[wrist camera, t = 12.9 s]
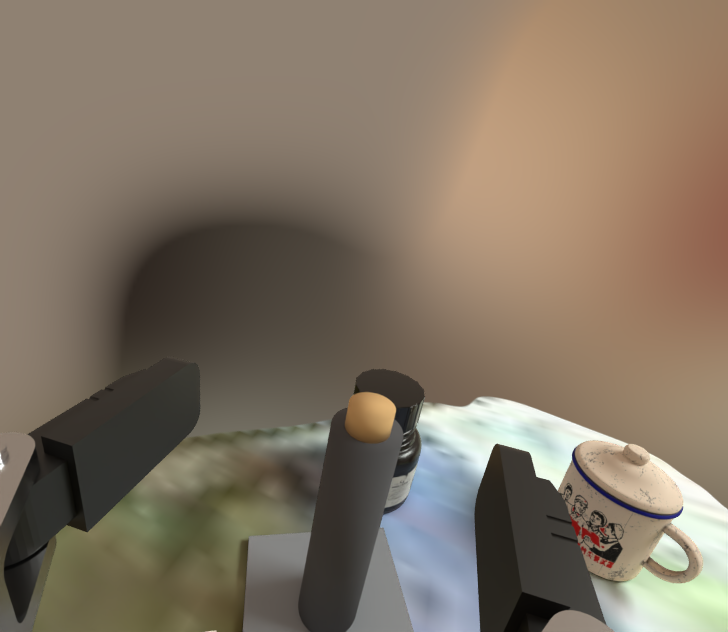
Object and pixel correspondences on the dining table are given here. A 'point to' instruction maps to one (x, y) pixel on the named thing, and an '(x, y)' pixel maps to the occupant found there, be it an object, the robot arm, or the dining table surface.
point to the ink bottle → (408, 410)
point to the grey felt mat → (284, 578)
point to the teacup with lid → (624, 511)
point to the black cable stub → (349, 511)
